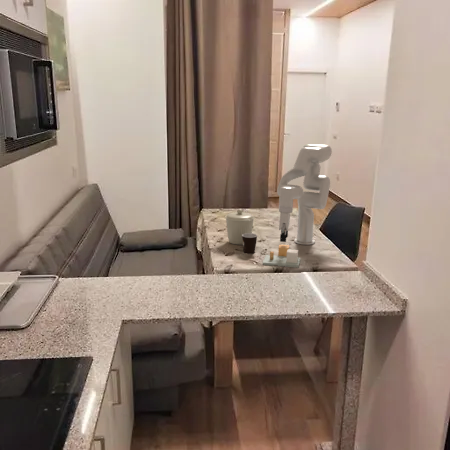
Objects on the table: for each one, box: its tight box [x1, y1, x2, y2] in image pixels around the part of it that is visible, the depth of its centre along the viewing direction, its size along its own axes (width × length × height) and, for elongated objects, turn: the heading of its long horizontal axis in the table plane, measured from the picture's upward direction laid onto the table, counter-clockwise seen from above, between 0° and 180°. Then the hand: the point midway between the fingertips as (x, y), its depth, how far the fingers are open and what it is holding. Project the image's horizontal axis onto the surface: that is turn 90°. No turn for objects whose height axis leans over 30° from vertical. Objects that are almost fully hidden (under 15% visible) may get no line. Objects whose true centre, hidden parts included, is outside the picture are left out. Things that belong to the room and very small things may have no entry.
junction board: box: [262, 248, 301, 268], centre depth 241 cm, size 13×19×7 cm
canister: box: [224, 208, 256, 246], centre depth 273 cm, size 18×18×21 cm
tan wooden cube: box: [277, 244, 291, 256], centre depth 252 cm, size 6×6×6 cm
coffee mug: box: [242, 233, 258, 255], centre depth 258 cm, size 12×9×10 cm
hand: (283, 239), depth 249 cm, fingers open, 9 cm apart
